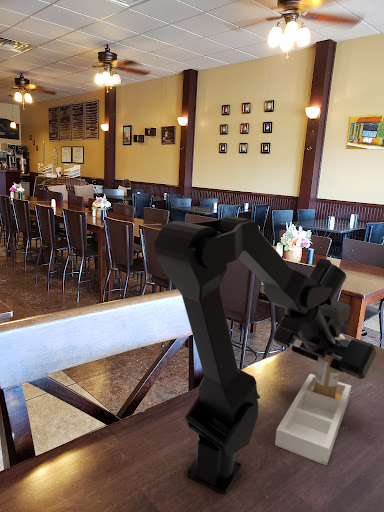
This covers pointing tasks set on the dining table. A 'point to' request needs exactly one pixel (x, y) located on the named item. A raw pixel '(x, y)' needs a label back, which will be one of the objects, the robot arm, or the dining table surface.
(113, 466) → the dining table surface
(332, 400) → the condiment rack
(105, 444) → the dining table surface
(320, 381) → the sprinkles bottle
